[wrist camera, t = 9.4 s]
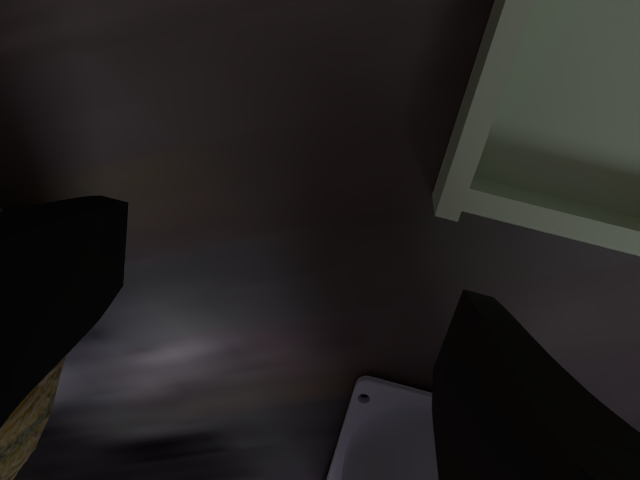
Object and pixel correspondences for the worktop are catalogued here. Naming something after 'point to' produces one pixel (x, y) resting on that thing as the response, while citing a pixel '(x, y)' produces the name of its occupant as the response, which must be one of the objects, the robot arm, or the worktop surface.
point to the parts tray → (551, 123)
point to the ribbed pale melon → (27, 424)
